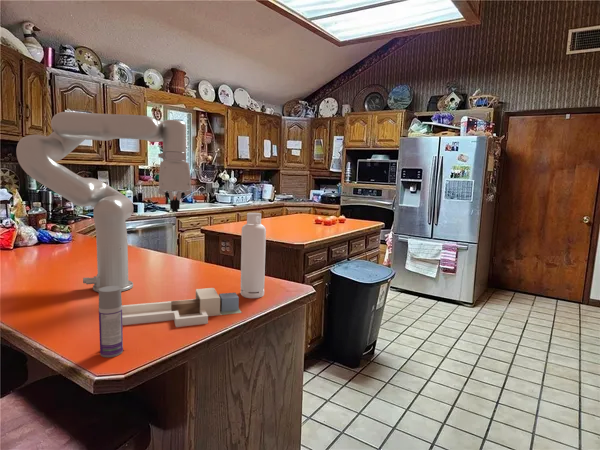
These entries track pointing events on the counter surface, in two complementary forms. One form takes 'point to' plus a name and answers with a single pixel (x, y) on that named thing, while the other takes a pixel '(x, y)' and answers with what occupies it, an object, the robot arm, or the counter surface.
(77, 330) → the counter surface
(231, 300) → the block
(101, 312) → the container
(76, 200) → the robot arm
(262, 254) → the bottle
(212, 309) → the lane
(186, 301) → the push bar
